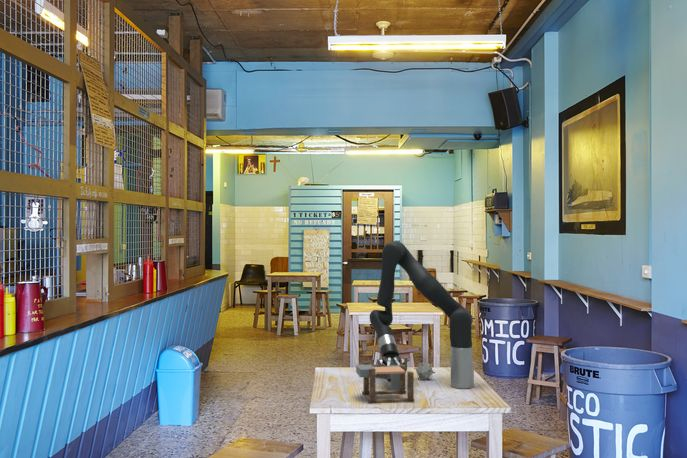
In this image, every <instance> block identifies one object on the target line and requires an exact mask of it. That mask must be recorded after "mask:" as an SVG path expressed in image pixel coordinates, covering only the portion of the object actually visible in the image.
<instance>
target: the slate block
mask: <svg viewBox="0 0 687 458" xmlns="http://www.w3.org/2000/svg"><path fill="white" fill-rule="evenodd" d="M395 366H399V365H389V366H388V367H395ZM390 377H391V381H390V382H388V381H387V390H388V391H391V390H399V374H390Z"/></svg>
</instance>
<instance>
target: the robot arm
mask: <svg viewBox="0 0 687 458" xmlns="http://www.w3.org/2000/svg"><path fill="white" fill-rule="evenodd" d="M381 255H382V256H381V259H382V260H381V274H380V281H379V287H378V288H379V289H378V293H377V298H376V304H377V305H378V306H380V307H383V308H384V310H380V309H373V310H372V311H371V312H370V314H369V322H370V324H371V326H372V328H373V329H374V331H375V333H376V335H377V341H378V347H379V351H380V356H381V359H380V358H379V359H377V360H376V363H375V365H377V367H383V366H382V365H385V366H386V367H388V366H389V365H405V374H406V373H407V370H408V358H406V357H405V358H404V359H403V358H401V357H400V354H399V351H398V350H399V349H398V346H397V342H396V339H395V336H394V333H393V329H392V326H390V325H392V323H393V321H394V318H393V317H394V316H393V298H394V293H395V274H396V273H395V272H396V269H397V266H400V267H401V268H402V269H403V270H404V271H405V272H406V274H407V275H408V278H409V279H410V281H411V284H413V286H414V287H415V289H416V290H417V291H418V292H419V293H420V294H421V295H422V296H423V297H424V298H425V299H427V300H428V301H429V302H430V303H431V304H433V305H434V306H436V307H438V308H439V309H440V310H441V311H442V312H444V314H445V315H446V316H447V317H448V318H449V341H450V387H451V388H455V389H472V388H475V366H474V364H473V337H472V325H473V321H474V320H473V319H474V318H473V315H472V314H471V312H470V311H469V310H468V309H466V308H465V307H464V306H463V305H461V304H460V303H459V302H458V301H457V300H456V299H455V298H454V297H453V296H452V295H451V294H450V293H449V292H448V291H447V290H446V288H445V287H444V286H443V284H441V282H440V281H439V280H438V279H437V278H436V277H435V276H433V274H432V273H431V272H429V271H428V269H426V268H425V266H423V265H422V264H421V263H420V262H419V261H418V260H417V259H416V258H415V257H414V256H413V255H412V253H411V252H410V251H409V249H408V248H407V246H405V245H404V244H403V243H402V242H401V241H396V240H395V241H391V242H388V243H386V244H385V245H384V246H383V247H382V253H381ZM385 375H386V379H385V380H386V382H387V383H388V382H390V381H391V377H390V374H385Z"/></svg>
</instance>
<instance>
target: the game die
mask: <svg viewBox="0 0 687 458" xmlns="http://www.w3.org/2000/svg"><path fill="white" fill-rule="evenodd" d="M431 364H432V361H430V362H422V360H421V361H420V363H419V365H417V367H415V368H413V370H415V371H416V374H417V377H418V378H417V380H419V379H424V380H427V381H430V380H429V379H430V377H431V376H432V375H433V374H436V371H434V370H433V368H432V365H431Z"/></svg>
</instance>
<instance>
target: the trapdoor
mask: <svg viewBox="0 0 687 458" xmlns="http://www.w3.org/2000/svg"><path fill="white" fill-rule="evenodd" d="M355 368H356V369H355V372H356V374H357V375H358V377H359V378H363V377H369V369H372V368H375V369H376V373H375V375H376V374H400V373H405V371H404V370H403V369H402V368H401V367H399V366H395V367H373V366H372V365H371V364H370V363H369V364H368V365H363V364H356V365H355ZM405 374H406V373H405Z"/></svg>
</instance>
